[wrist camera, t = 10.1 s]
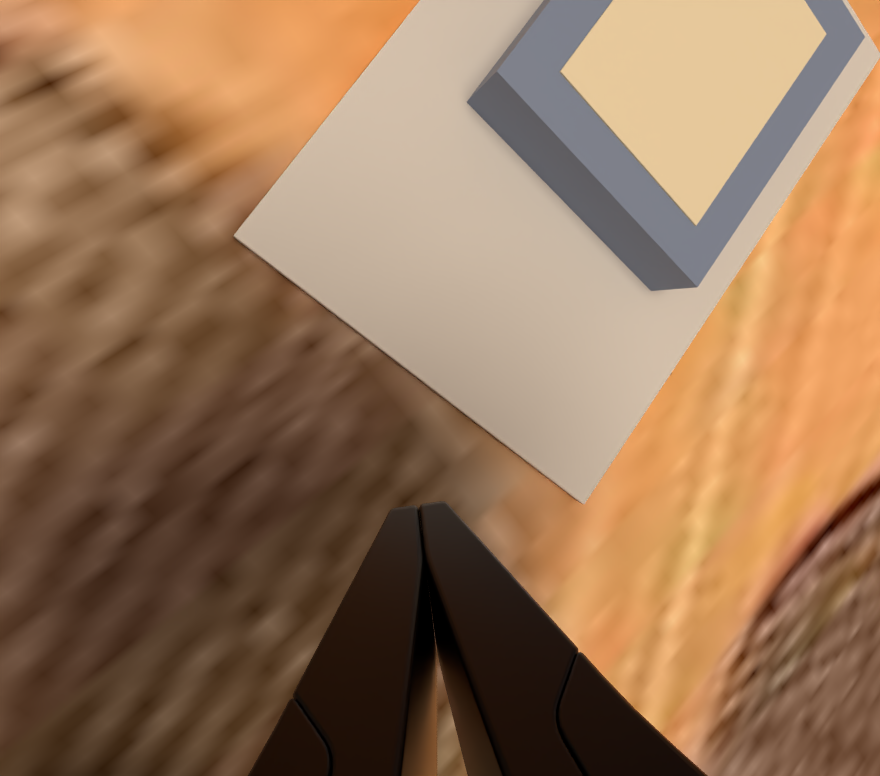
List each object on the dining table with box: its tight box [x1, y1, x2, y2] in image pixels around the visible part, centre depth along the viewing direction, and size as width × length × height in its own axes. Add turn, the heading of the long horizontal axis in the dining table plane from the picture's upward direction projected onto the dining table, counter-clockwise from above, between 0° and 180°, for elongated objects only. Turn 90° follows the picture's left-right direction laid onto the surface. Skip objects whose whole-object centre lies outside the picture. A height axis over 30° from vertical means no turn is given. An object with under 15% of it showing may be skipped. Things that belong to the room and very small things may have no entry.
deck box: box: [467, 0, 865, 291], centre depth 20 cm, size 2×10×12 cm
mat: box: [234, 0, 880, 504], centre depth 21 cm, size 24×16×1 cm, turn 142°
